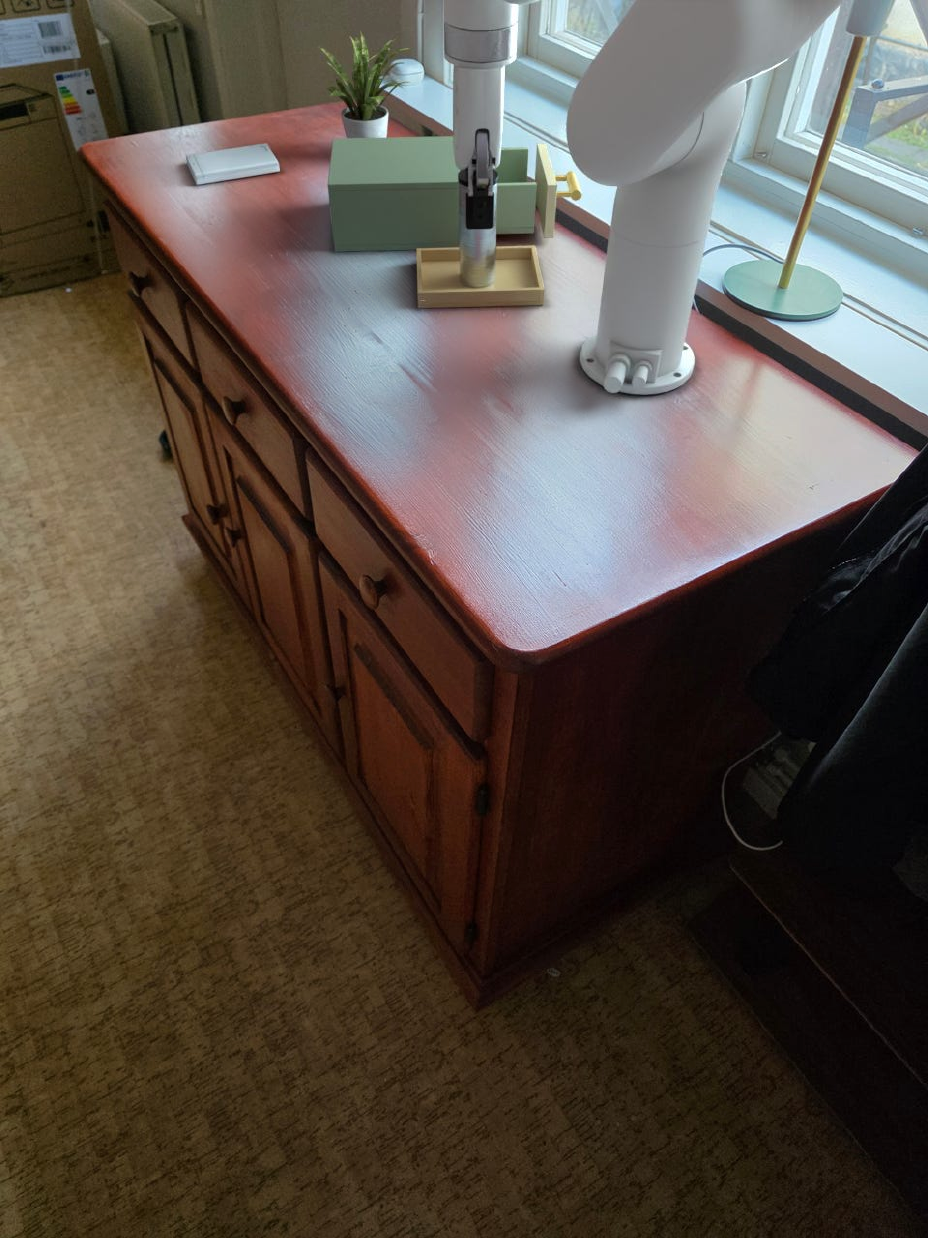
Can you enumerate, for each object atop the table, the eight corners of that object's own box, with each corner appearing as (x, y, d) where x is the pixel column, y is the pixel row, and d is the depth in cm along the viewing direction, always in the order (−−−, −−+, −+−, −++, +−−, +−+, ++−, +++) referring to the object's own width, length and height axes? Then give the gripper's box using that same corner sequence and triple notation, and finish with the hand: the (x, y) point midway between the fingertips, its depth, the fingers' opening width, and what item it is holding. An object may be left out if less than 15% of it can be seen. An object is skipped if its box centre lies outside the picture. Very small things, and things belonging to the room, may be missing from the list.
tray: (534, 260, 115) (535, 245, 113) (543, 304, 107) (544, 289, 106) (416, 263, 114) (416, 247, 113) (418, 308, 107) (417, 292, 105)
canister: (489, 290, 109) (492, 185, 99) (454, 285, 110) (452, 180, 100) (499, 273, 112) (502, 168, 102) (465, 267, 112) (464, 164, 103)
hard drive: (266, 141, 136) (184, 153, 133) (278, 161, 131) (194, 174, 128) (267, 152, 138) (187, 164, 135) (280, 173, 133) (197, 186, 130)
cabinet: (456, 200, 127) (455, 135, 120) (461, 248, 117) (461, 181, 110) (339, 202, 126) (332, 137, 120) (334, 251, 116) (327, 184, 110)
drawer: (569, 192, 126) (574, 142, 121) (582, 237, 117) (588, 184, 112) (433, 196, 125) (431, 144, 120) (435, 240, 117) (434, 187, 111)
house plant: (438, 163, 135) (436, 39, 123) (359, 185, 130) (348, 58, 117) (389, 133, 143) (383, 14, 130) (313, 152, 138) (298, 30, 125)
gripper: (441, 15, 97) (443, 187, 110) (447, 69, 85) (449, 253, 99) (509, 14, 97) (503, 186, 111) (524, 68, 86) (515, 251, 99)
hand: (478, 216), depth 105 cm, fingers closed on canister, 4 cm apart
